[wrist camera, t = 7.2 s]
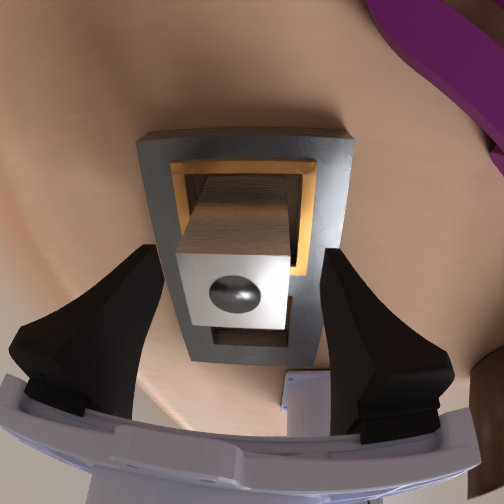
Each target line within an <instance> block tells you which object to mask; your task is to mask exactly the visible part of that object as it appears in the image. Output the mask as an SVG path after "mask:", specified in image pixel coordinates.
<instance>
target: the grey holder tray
mask: <svg viewBox="0 0 504 504" xmlns="http://www.w3.org/2000/svg"><path fill="white" fill-rule="evenodd" d="M136 145H137V151H138V156H139V162H140V167H141V173H142V178H143V183H144V188H145V193H146V197H147V202H148V207H149V211H150V216H151V220H152V225H153V229H154V233H155V237H156V241H157V245H158V249H159V253H160V257H161V261H162V265H163V269H164V273H165V276H166V280H167V284H168V287H169V291H170V294H171V298H172V301H173V305H174V308H175V311H176V315H177V318H178V321H179V325H180V328H181V331H182V334H183V337H184V340H185V344H186V347H187V350H188V353H189V356H190V359H191V361H198V362H210V363H224V364H241V365H265V366H313V364H314V360H315V356H316V352H317V348H318V344H319V340H320V336H321V332H322V327H323V323H324V321H323V315H322V310H321V302H320V286H319V284H320V278H321V272H322V265H323V259H324V252H325V248H339V245H340V239H341V233H342V227H343V221H344V215H345V208H346V202H347V195H348V188H349V180H350V173H351V165H352V156H353V147H354V139H353V137H352V136H351V135H350V134H349V132H348V131H345V130H332V129H316V128H293V127H223V128H201V129H185V130H172V131H161V132H151V133H146V134H145V135H144V136H143V137H141V138H140V139H139V140H138V141H136ZM209 173H282V174H300V178H299V196H298V212H297V227H296V241H295V248H290V254H291V258H290V271H289V284H288V296H291V301H290V311H289V321H288V331H251V330H228V329H216V327H214V326H198V325H192V321H191V317H190V313H189V309H188V305H187V301H186V297H185V293H184V289H183V285H182V280H181V276H180V271H179V267H178V263H177V258H176V251H177V248H178V246H179V243H180V241H181V239H182V236H183V234H184V231H185V229H186V227H187V224H188V222H189V220H190V217H191V215H192V213H193V211H194V208H195V206H196V204H197V197H196V189H195V181H194V174H209Z"/></svg>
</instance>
